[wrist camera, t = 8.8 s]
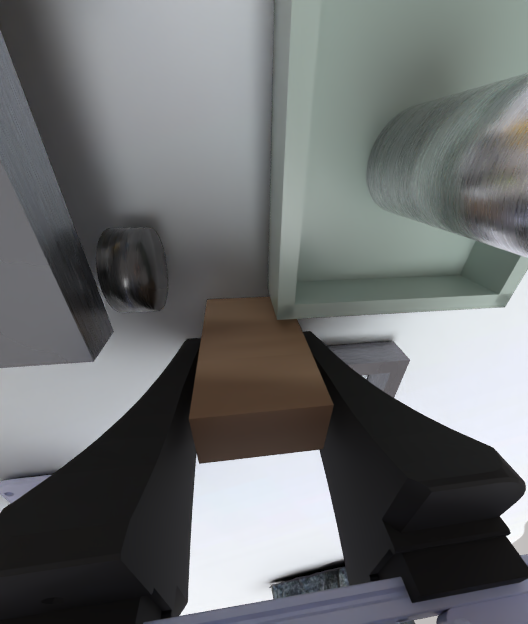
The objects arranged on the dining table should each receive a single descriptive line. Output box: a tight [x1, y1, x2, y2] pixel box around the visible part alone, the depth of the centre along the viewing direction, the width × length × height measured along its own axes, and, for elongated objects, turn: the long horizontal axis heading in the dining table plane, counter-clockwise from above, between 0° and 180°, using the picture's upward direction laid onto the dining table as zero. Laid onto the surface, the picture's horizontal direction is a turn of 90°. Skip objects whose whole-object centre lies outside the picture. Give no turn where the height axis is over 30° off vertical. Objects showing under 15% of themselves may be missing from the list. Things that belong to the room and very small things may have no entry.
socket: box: [327, 341, 410, 398], centre depth 14 cm, size 6×6×2 cm
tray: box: [268, 0, 528, 320], centre depth 8 cm, size 10×9×2 cm
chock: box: [189, 297, 334, 464], centre depth 10 cm, size 4×4×6 cm
